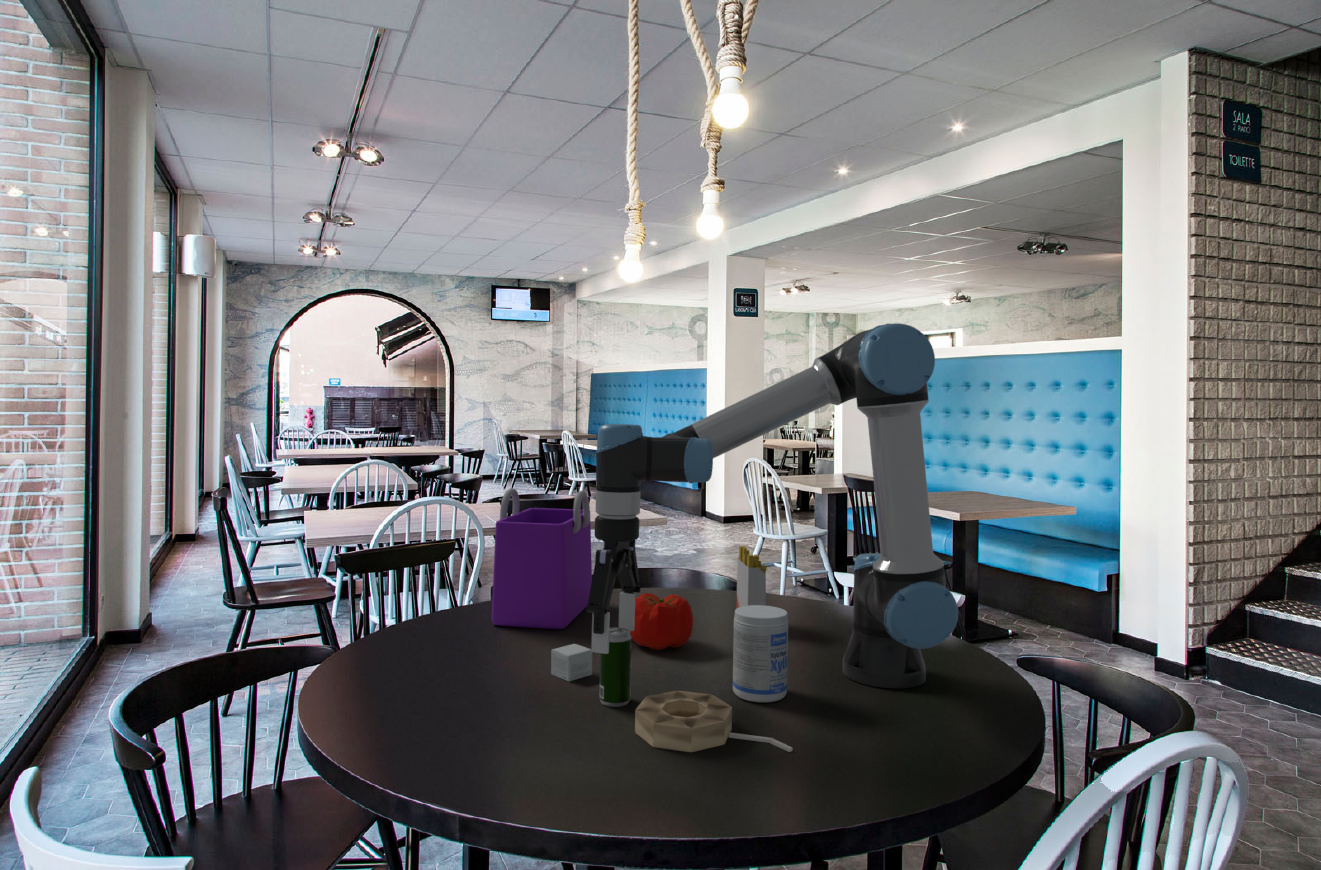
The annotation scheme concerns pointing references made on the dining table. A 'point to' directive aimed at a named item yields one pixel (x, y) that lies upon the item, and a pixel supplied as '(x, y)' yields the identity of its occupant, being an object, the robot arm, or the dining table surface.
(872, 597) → the robot arm
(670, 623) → the tomato
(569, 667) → the small box
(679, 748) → the tan octagonal bowl
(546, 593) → the shopping bag
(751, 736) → the drinking straw
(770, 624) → the supplement tub
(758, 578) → the french fries container
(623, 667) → the beer can
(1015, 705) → the dining table surface
